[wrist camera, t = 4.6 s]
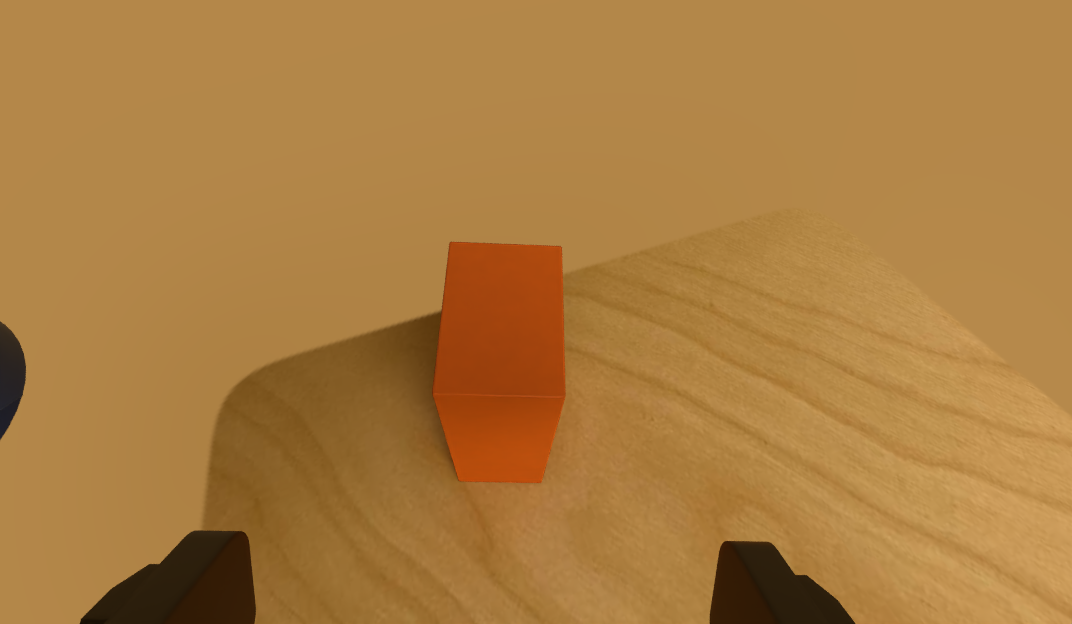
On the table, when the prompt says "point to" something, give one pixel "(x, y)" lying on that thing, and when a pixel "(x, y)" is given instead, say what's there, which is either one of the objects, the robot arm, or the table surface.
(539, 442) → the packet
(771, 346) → the table surface
